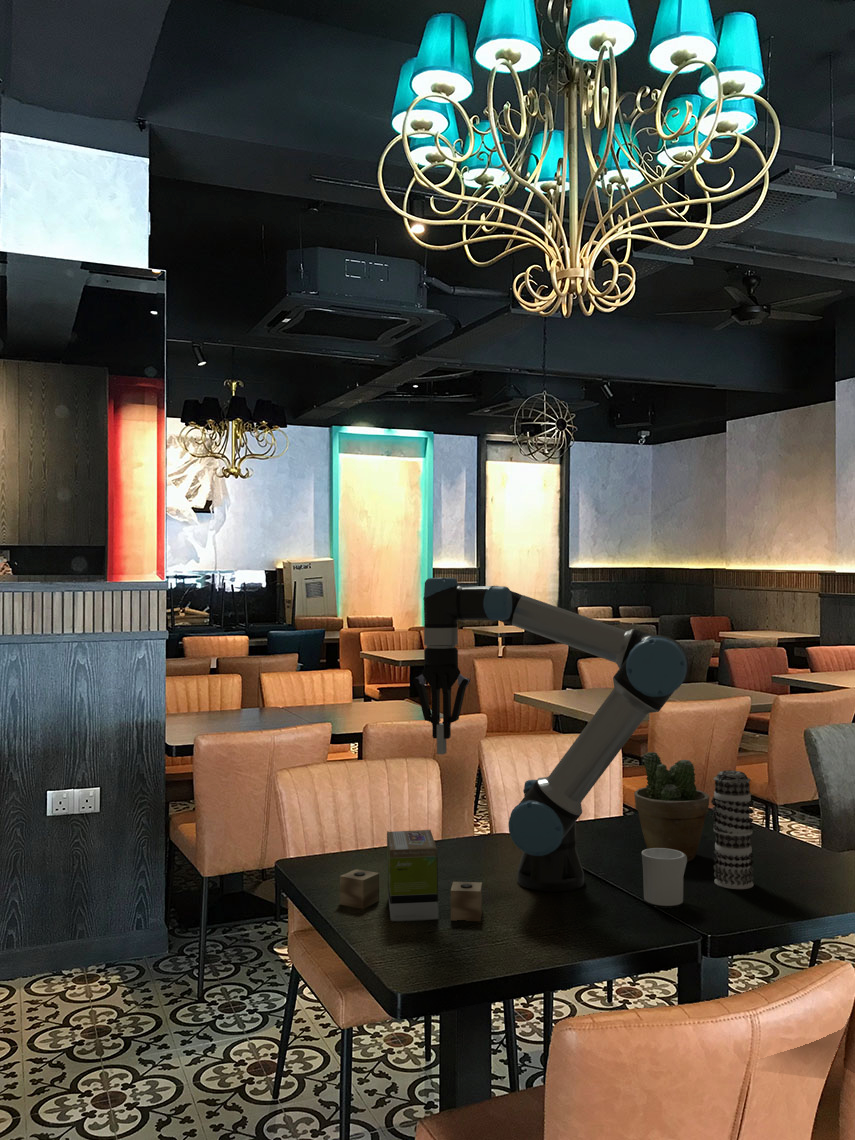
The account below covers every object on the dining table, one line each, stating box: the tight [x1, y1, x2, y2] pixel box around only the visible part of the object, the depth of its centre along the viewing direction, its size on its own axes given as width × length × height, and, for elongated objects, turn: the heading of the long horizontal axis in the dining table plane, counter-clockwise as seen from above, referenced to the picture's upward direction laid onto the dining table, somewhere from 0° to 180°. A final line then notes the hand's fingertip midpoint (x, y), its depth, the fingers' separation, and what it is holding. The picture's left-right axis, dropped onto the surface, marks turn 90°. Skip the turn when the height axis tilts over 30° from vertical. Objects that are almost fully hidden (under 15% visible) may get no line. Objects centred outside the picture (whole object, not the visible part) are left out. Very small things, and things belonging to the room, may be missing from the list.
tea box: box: [386, 829, 439, 922], centre depth 196 cm, size 15×10×15 cm, turn 5°
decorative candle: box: [710, 769, 755, 890], centre depth 213 cm, size 9×9×25 cm
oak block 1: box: [339, 868, 380, 910], centre depth 200 cm, size 6×6×6 cm
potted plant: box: [634, 751, 710, 862], centre depth 236 cm, size 18×19×25 cm
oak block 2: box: [450, 881, 483, 922], centre depth 192 cm, size 6×6×6 cm
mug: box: [641, 848, 688, 909], centre depth 200 cm, size 11×9×10 cm
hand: (441, 753), depth 208 cm, fingers closed
